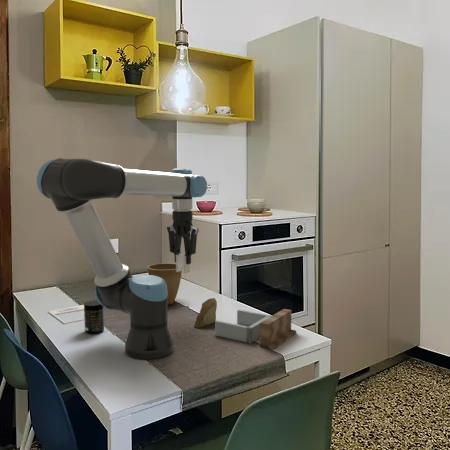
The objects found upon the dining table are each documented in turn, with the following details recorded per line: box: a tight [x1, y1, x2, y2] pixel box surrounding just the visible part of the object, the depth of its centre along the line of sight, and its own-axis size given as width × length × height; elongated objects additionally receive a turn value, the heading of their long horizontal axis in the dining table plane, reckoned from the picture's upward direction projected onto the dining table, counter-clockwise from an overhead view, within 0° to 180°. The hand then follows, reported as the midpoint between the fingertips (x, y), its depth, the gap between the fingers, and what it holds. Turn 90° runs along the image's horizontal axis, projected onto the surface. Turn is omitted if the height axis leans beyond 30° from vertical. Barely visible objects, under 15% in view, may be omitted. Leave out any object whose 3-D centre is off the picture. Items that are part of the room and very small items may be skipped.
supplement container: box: [83, 299, 105, 335], centre depth 166 cm, size 7×7×10 cm
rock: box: [193, 297, 218, 329], centre depth 176 cm, size 11×9×10 cm
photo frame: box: [47, 304, 84, 325], centre depth 186 cm, size 15×1×18 cm
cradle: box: [214, 309, 272, 344], centre depth 167 cm, size 16×14×5 cm
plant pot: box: [147, 262, 184, 305], centre depth 203 cm, size 15×15×16 cm
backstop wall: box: [259, 308, 297, 350], centre depth 160 cm, size 18×5×8 cm, turn 148°
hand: (182, 271), depth 179 cm, fingers open, 3 cm apart
